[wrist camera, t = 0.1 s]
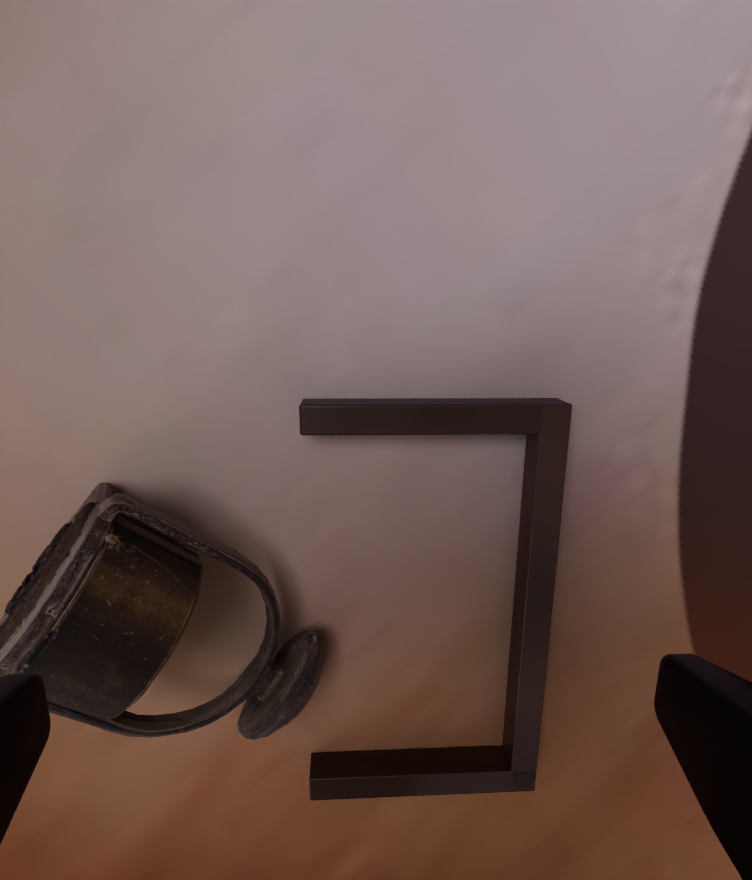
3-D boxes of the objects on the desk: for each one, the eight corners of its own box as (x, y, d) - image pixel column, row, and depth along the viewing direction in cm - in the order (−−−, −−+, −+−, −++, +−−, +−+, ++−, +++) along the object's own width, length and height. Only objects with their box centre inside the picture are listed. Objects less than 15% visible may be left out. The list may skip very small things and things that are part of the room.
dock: (524, 764, 26) (534, 791, 25) (311, 773, 26) (309, 800, 24) (557, 398, 22) (572, 404, 21) (301, 398, 21) (299, 404, 20)
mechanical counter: (162, 437, 16) (-168, 624, 15) (373, 763, 18) (98, 960, 16) (194, 430, 23) (-26, 556, 22) (343, 664, 25) (150, 796, 23)
